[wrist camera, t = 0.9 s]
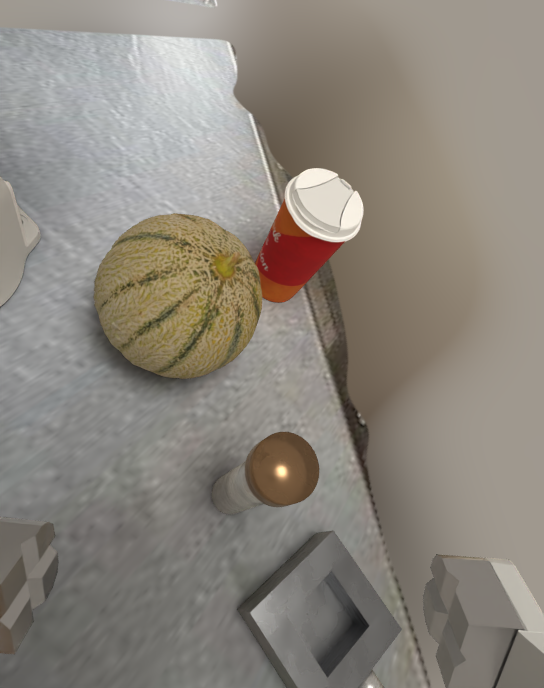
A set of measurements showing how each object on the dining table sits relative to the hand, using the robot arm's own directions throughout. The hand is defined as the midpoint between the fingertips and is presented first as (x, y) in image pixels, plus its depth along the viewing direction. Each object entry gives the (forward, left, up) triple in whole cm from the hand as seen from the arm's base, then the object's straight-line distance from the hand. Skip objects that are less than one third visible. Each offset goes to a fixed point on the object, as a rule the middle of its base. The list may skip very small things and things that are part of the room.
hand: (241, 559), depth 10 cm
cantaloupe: (-16, +14, -32) cm, 39 cm away
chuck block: (+15, +10, -32) cm, 37 cm away
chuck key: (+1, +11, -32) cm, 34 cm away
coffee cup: (-16, +30, -32) cm, 47 cm away
